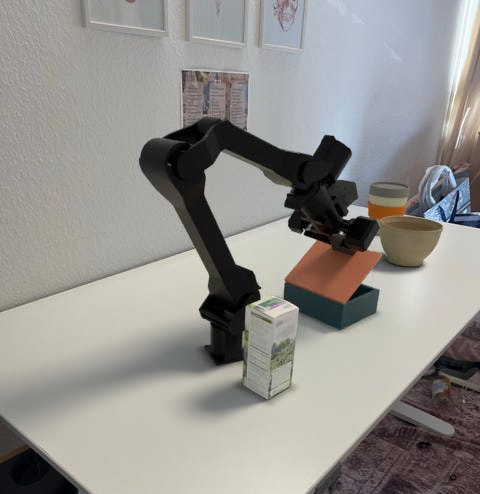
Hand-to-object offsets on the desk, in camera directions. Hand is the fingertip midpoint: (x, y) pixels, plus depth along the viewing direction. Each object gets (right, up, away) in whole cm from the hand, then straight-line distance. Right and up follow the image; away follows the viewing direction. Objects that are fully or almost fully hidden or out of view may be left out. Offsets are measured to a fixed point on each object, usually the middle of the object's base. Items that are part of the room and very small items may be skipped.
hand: (346, 247), depth 100 cm
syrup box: (-18, -26, -23) cm, 39 cm away
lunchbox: (-3, -13, +4) cm, 14 cm away
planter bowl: (+23, +1, +32) cm, 40 cm away
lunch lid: (-3, -5, -1) cm, 6 cm away
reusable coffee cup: (+25, +14, +59) cm, 66 cm away
